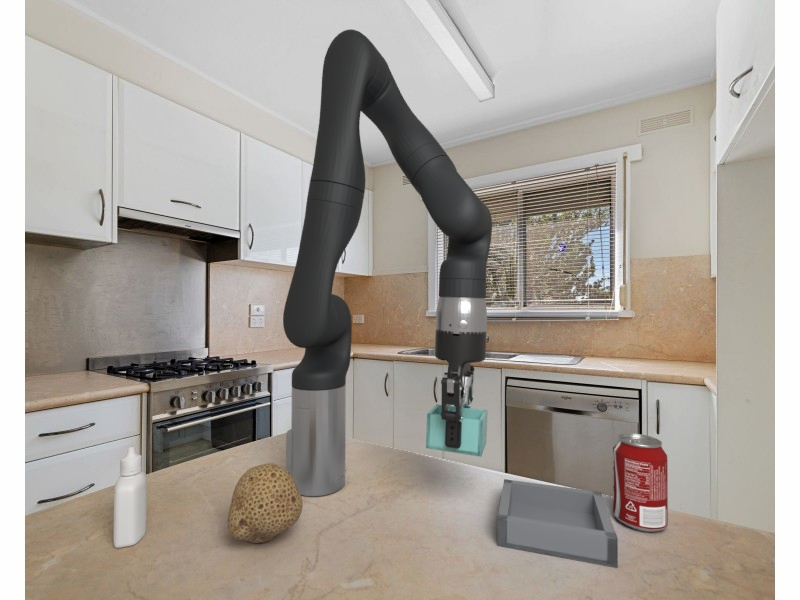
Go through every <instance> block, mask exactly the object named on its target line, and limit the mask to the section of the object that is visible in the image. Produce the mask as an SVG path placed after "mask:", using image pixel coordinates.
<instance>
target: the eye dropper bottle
mask: <svg viewBox="0 0 800 600" xmlns="http://www.w3.org/2000/svg"><path fill="white" fill-rule="evenodd" d="M142 459H143V456H142V455H141V454H138V453H137V452H136V447H135V446H129V447H127V452H126V455H125V456H123V457H121V458H120V461H119V463H120V464H119V475H120V476H118V478H117V480H116V482H115V484H114V487H113V488H114V489H113V490H114V491H113V547H114V548H115V549H120V548H126V547H131V546H134V545H136V544H137V543H138V542H139V541H141V539H142V538H143V537H144V536H145V534H146V530H147V495H148V494H147V488H148V487H147V485H148V484H147V483H148V481H147V478H148V477H147V474H146V473H145V472H144V471H143V460H142Z"/></svg>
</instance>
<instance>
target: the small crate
mask: <svg viewBox="0 0 800 600" xmlns="http://www.w3.org/2000/svg"><path fill="white" fill-rule="evenodd" d="M450 411H452V412H456V407H455V406H454V405H451V406H450ZM441 413H442V404H437V403H436V404H435V406H433V407H432V409H430V411H429V412H427V414H426V433H425V434H426V436H425V438H426V439H425V440H426V441H425V448H426V449H429V450H436V451H442V452H448V453H455V454H462V455H468V456H475V457H482V456H483V453H484V450H485V447H486V444H487V432H488V431H487V430H488V427H487V426H488V410H485V409H478V408H471V407H470V408H464V409H463V420H462V433H461V446H460V448H458V449H456V448H449V447H446V445H445V429H446V421H445V420H442V417H441Z"/></svg>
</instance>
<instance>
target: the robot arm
mask: <svg viewBox="0 0 800 600" xmlns="http://www.w3.org/2000/svg"><path fill="white" fill-rule="evenodd" d="M320 88H321V90H320V108H319V109H320V110H319V120H318V121H319V122H318V129H317V135H316V142H315V149H314V157H313V164H312V169H311V175H310V180H309V185H308V191H307V198H306V205H305V212H304V220H303V224H302V230H301V236H300V240H299V247H298V254H297V257H296V263H295V266H294V267H295V268H294V271H293V275H292V278H291V281H290V285H289V289H288V292H287V295H286V300H285V304H284V309H283V314H282V315H283V316H282V326H283V331H284V334H285V336H286V337H287V340H288V341H289V342H290V343H291V344H292V345H294V346H295V347H297V348H302V349H304V354H303V357H302V359H301V361H300V362H299V363H298V364H297V365H296V366H295V367H294V369H293V370H292V372H291V423H290V424H291V425H290V426H291V427H290V428H291V429H288V430H287V431H286V434H285V436H286V437H285V438H286V439H285V441H286V443H285V469H286V470H287V471H288V472H289V473H290V474H291V475H292V477H293V479H294V481H295V483H296V485H297V488H298V491H299V493H300V495H301V496H306V497H319V496H326V495H331V494H334V493H336V492H338V491H340V490H341V489H342V488H344V487H345V485H346V471H347V470H346V413H347V411H346V405H347V403H346V397H347V396H346V395H347V394H346V390H347V389H346V388H347V386H346V383H347V382H346V381H347V373H348V371H349V368H350V364H351V351H352V336H353V335H352V330H353V329H352V326H353V324H352V322H353V321H352V316H351V311H350V308H349V305H348V304H347V302H346V301H345V300H344V299H343V298H342V297H340V296H339V295H337V294H333V287H334V280H335V277H336V276H335V275H336V270H337V267H338V264H339V262H340V260H341V257H342V255H343V253H344V252H345V250H346V249H347V247H348V245H349V243H350V242H351V240H352V239H353V236H354V234H355V233H356V231H357V228H358V226H359V223H360V219H361V215H362V211H363V210H362V209H363V204H364V199H365V192H366V169H365V162H364V155H363V147H362V142H361V133H360V121H361V119H360V118H361V112H362V113H363V115H364V116H366V117H367V118H368V119H369V120H370V121H371V122H372V123H373V124H374V126H376V128H377V129H378V130H379V132H380V133H381V135H382V136H383V138H384V139H385V141H386V144H387V145H388V147H389V150H390V152H391V154H392V156H393V159H394V160H395V162H396V163H397V166H398V167H399V168H400V170H401V171H402V173H403V174H404V176H405V178H406V179H407V180H408V181H409V183H410V184H411V186H412V187H413V189H414V190H415V192H417V193H418V194H419V195H420V198H421V200H422V202H423V204H424V206H425V208H426V210H427V212H428V214H429V215H430V218H432V221H433V222H434V224H435V225H436V226H437V228H438V229H439V230H440V232H441V233H442V234H443V235H445V236H446V237H447V238H448V242H447V243H448V244H447V253H446V259H444V260H443V261H442V262H441V264H440V269H439V276H438V300H437V305H436V306H437V307H436V312H435V313H436V315H435V340H434V341H435V342H434V343H435V345H434V356H435V358H436V359H437V360H439V361H446V362H448V365H447V372H444V374H443V377H442V379H441V380H440V384H441V405H442V413H441V417H442V420H445V421H446V429H445V445H446V447H449V448H456V449H458V448H460V446H461V433H462V420H463V409H464V408H471V407H472V403H473V401H474V397H473V395H474V382H475V381H474V380H475V366H474V365H471V364H472V363H473V364H475V363H481V362H483V361H485V359H486V355H487V352H486V351H487V323H488V312H487V311H488V309H487V299H486V297H487V264H488V260H489V255H490V248H491V242H492V235H493V233H492V232H493V220H492V218H493V217H492V213H491V211H490V209H489V208H488V206H487V205H486V204H485V203H484V202H483V201H482V200H481V198H479V196H478V195H477V193H475V192H474V190H472V188H471V187H470V186H469V184H468V183H467V182H466V181H465V180H464V178H463V177H462V176H461V174H460V173H459V172H458V170H457V167H456V166H455V164H454V162H453V160H452V159H451V158H450V156H449V155H448V153H447V152H446V151H445V149H444V148H443V146H441V144H440V143H439V142H438V140H437V139H436V138H435V137H434V135H433V134H432V133H431V132H430V131H429V129H428V127H426V126H425V125H424V123H422V121H421V120H420V119H419V118H418V117H417V115H415V113H414V112H413V111H412V109H411V108H410V106H409V105H408V102H406V100H405V98H404V97H403V94H402V92H401V90H400V88H399V87H398V84H397V82H396V80H395V78H394V75H393V74H392V72H391V69H390V67H389V64H388V62H387V61H386V59H385V58H384V56H383V55H382V54H381V53H380V51H379V50H378V48H376V46H375V45H374V44H373V42H372V41H371V40H370V39H369V38H368V37H367V36H366V35H364V34H363V33H362V32H361V31H358V30H356V29H345V30H343V31H341V32H340V33H338V34H337V35H336V36H335V37H334V38H333V40H332V41H331V42H330V44H329V46H328V47H327V50H326V53H325V56H324V60H323V66H322V74H321V87H320ZM450 406H455V407H456V412H452V411H450Z"/></svg>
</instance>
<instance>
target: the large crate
mask: <svg viewBox="0 0 800 600" xmlns="http://www.w3.org/2000/svg"><path fill="white" fill-rule="evenodd" d="M618 540H619V538H618V535H617V533H616V530H615V527H614V524H613V522H612V519H611V516H610V513H609V511H608V508H607V505H606V502H605V500H604V497H603V494H602V491H596V490H588V489H580V488H575V487H574V488H572V487H565V486H559V485H551V484H542V483H537V482H536V483H535V482H527V481H523V480H522V481H521V480H514V479H513V480H512V479H507V478H504V479H503V484H502V490H501V496H500V502H499V507H498V513H497V547H503V548H509V549H514V550H518V551H519V550H520V551H524V552H530V553H535V554H540V555H547V556H553V557H557V558H562V559H567V560H568V559H569V560H574V561H578V562H583V563H588V564H594V565H601V566H604V567H605V566H606V567H611V568H616V569H617V568H618V567H619V566H618V565H619V564H618V560H619V559H618V557H619V554H618V551H619V550H618V548H619V547H618V545H619V544H618V543H619V541H618Z"/></svg>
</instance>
